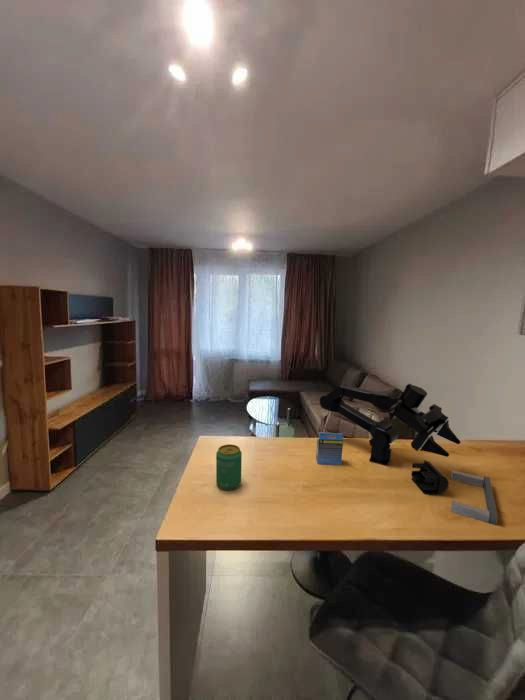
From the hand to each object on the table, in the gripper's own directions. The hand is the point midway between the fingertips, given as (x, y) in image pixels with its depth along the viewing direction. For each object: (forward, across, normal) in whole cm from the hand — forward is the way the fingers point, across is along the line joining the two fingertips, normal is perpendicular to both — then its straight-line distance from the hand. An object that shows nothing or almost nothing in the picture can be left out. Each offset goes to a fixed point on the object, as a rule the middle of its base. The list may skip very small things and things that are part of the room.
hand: (454, 449), depth 106 cm
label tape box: (-28, -20, +24) cm, 42 cm away
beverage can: (-40, -57, +23) cm, 73 cm away
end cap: (+1, -8, +13) cm, 15 cm away
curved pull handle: (+11, -4, +9) cm, 14 cm away
